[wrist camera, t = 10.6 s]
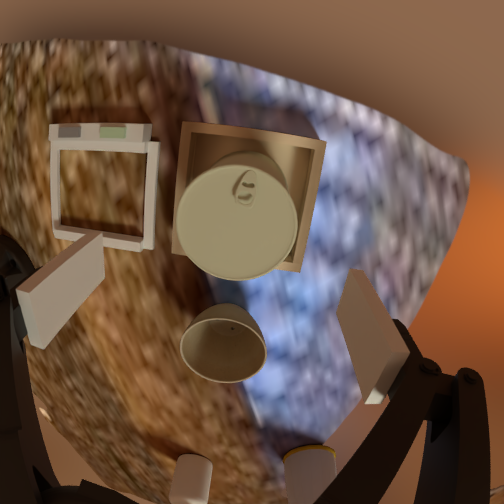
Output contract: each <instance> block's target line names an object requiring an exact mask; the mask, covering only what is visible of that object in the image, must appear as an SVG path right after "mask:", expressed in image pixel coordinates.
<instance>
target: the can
mask: <svg viewBox="0 0 504 504" xmlns="http://www.w3.org/2000/svg"><path fill="white" fill-rule="evenodd" d="M175 223H176V232H177V236H178V239H179V242H180V244H181V246H182V248H183V250H184V252H185V253H186V255H187V256H188V257H189V258H190V259H191V261H192V262H193V263H194V264H195V265H197V266H198V267H199V268H200V269H202V270H203V271H205V272H207V273H209V274H211V275H213V276H215V277H218V278H222V279H226V280H234V281H242V280H250V279H255V278H258V277H261V276H263V275H265V274H267V273H269V272H271V271H272V270H274V269H275V268H276V267H278V266H279V265H280V264H281V263H282V262H283V261H284V260H285V258H286V257H287V256H288V254H289V253H290V251H291V249H292V247H293V245H294V242H295V239H296V234H297V228H298V221H297V212H296V208H295V205H294V202H293V200H292V198H291V196H290V194H289V192H288V185H287V181H286V178H285V176H284V174H283V172H282V170H281V169H280V167H279V166H278V165H277V164H276V163H275V162H274V161H273V160H272V159H270V158H269V157H267V156H265V155H263V154H261V153H258V152H254V151H236V152H232V153H229V154H227V155H225V156H223V157H221V158H220V159H219V160H217V161H216V162H215V163H214V164H213V165H212V166H211V168H210V169H208V170H206V171H205V172H203V173H201V174H200V175H198V176H197V177H196V178H195V179H194V180H193V181H192V182H191V183H190V184H189V185H188V186H187V187H186V189H185V190H184V192H183V194H182V195H181V198H180V200H179V203H178V206H177V210H176V218H175Z"/></svg>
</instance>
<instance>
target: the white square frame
mask: <svg viewBox="0 0 504 504" xmlns="http://www.w3.org/2000/svg"><path fill="white" fill-rule="evenodd" d="M151 132H152V124H142V123H60V124H50V125H49V141H51V156H50V186H51V211H52V226H53V234H55V238H59V239H65V240H70V241H77V240H78V239H80V238H81V237H82V236H84V235H85V234H87V233H88V232H89V231H97V232H102V234H103V246H105V247H111V248H117V249H123V250H129V251H135V252H141V251H142V250H143V249H150V250H153V249H154V236H155V210H156V191H157V177H158V164H159V152H160V142H155V141H151ZM60 150H97V151H119V152H135V153H146V152H148V156H147V169H146V186H145V207H144V237H138V236H131V235H125V234H118V233H111V232H105V231H98V230H92V229H85V228H78V227H72V226H65V225H61V212H60Z"/></svg>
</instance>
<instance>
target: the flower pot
mask: <svg viewBox="0 0 504 504" xmlns="http://www.w3.org/2000/svg"><path fill="white" fill-rule="evenodd" d="M233 327H234V328H233ZM180 353H181V356H182V358H183V360H184V362H185V363H186V365H187V366H188V367H189V368H190V369H191V370H192V371H194V372H195V373H196V374H198V375H200V376H201V377H203V378H206V379H208V380H211V381H215V382H222V383H234V382H240V381H243V380H246V379H249V378H251V377H252V376H254V375H255V374H257V373H258V372H259V371H260V370H261V369H262V367H263V366H264V364H265V361H266V357H267V350H266V345H265V341H264V337H263V335H262V332H261V330H260V328H259V326H258V324H257V323H256V321H255V320H254V319H253V317H252V316H251V315H250V314H249V313H248V312H247V311H246V310H244V309H243V308H241V307H240V306H238V305H235V304H232V303H221V304H217V305H214V306H212V307H210V308H208V309H206V310H204V311H203V312H202V313H200V314H199V315H198V316H197V317H196V318H195V319H194V320H193V321H192V322H191V323H190V325H189V326H188V327H187V329H186V330H185V332H184V334H183V336H182V338H181V341H180Z"/></svg>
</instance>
